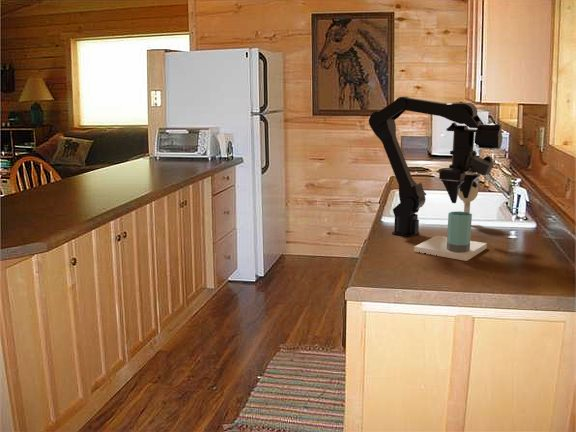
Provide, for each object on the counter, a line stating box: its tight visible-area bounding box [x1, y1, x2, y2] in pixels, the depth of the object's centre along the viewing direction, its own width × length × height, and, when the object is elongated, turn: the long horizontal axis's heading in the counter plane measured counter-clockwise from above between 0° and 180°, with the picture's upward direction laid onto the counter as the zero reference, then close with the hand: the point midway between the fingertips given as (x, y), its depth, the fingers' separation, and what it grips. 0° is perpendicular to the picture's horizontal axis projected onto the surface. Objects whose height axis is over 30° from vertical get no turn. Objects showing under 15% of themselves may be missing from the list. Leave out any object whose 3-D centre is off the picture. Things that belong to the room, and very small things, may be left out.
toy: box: [458, 180, 479, 214], centre depth 202 cm, size 9×7×15 cm
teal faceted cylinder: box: [446, 211, 473, 253], centre depth 166 cm, size 6×6×10 cm
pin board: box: [413, 235, 488, 262], centre depth 172 cm, size 15×15×5 cm
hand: (460, 200), depth 180 cm, fingers open, 9 cm apart
